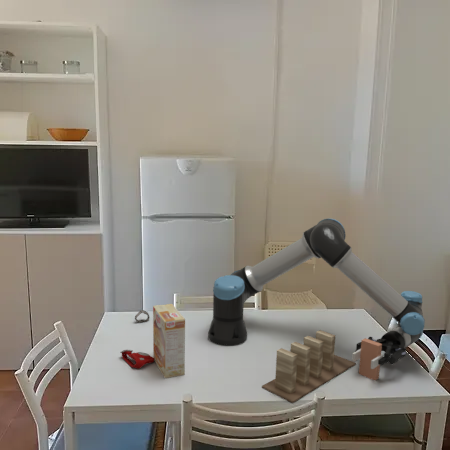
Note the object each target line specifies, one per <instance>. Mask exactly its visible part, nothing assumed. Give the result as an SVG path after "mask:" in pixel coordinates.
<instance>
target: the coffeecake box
mask: <svg viewBox="0 0 450 450" xmlns="http://www.w3.org/2000/svg"><path fill="white" fill-rule="evenodd" d="M152 314H153V315H152V316H153V317H152V318H153V320H152V324H153V326H152V328H153V331H152V332H153V337H152V338H153V339H152V340H153V343H152V344H153V352H152V353H153V355H152V357H153V358H154V363H156V366H157V368H158V369H159V371H160V372H161V374H162V376H163V377H164V379H169V378H174V377H175V378H176V377H180V376H184V375H185V372H186V371H185V369H186V368H185V367H186V365H185V363H186V362H185V361H186V360H185V359H186V319H185V317H184V316H183V315H182V314H181V312H180V311H179V310H178V309H177V308H176V307H175V305H174V304H173V303H167V304H158V305H157V304H156V305H152Z"/></svg>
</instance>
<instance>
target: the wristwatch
mask: <svg viewBox="0 0 450 450" xmlns="http://www.w3.org/2000/svg"><path fill="white" fill-rule="evenodd" d="M141 314H144V315H146V316H147V318H146V319H144V320H143V319H142V320H140V319H137V318H138V317H139V316H140V315H141ZM134 320H135V321H136V322H137V323H140V324H141V323H147V322H148V321H149V320H150V314H149V312H148V311H146V310H144V309H141V310H139V311H138V313H137V314H135V316H134Z"/></svg>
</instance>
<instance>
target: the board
mask: <svg viewBox="0 0 450 450" xmlns="http://www.w3.org/2000/svg"><path fill="white" fill-rule="evenodd" d="M356 365H357V362H356V361H355V362H353V361H352V360H350V359H347V358H345V357H343V356H339V355H336V354H334V363H333V369H332V370H331V371H327V370H325V369H322V373H321V376H320V377H319V378H315V377H313V376H310V375H309V383H308V384H307V385H305V386H303V385H301V384H299V383H297V382H296V388H295V392H293V393H291V394H289V393H287V392H285V391H283V390H281V389H279V388H277V387H275V378H274V379H272V380H269V381H268V382H267V383H265V384H263V385H261V388H262V389H264V390H266V391H268V392H269V393H272V394H273V395H276V396H277V397H279V398H282V399H283V400H285V401H287V402H289V403H291V404H294V403H296V402H298V401H299V400H301V399H302V398H304V397H306V396H307V395H309V394H310V393H312V392H314V391H316V390H317V389H319V388H320V387H322V386H324V385H325V384H327V383H329V382H330V381H331V380H332V381H333V379H335V378H337V377H338V376H340V375H341V374H344V372H347V370H349V369H352V368H353V367H354V366H356Z"/></svg>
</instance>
